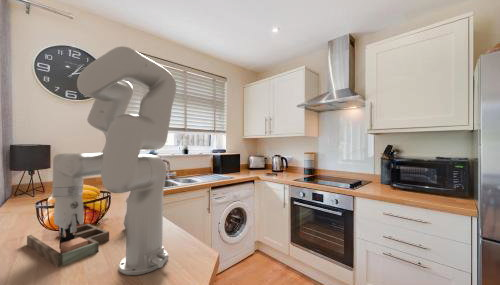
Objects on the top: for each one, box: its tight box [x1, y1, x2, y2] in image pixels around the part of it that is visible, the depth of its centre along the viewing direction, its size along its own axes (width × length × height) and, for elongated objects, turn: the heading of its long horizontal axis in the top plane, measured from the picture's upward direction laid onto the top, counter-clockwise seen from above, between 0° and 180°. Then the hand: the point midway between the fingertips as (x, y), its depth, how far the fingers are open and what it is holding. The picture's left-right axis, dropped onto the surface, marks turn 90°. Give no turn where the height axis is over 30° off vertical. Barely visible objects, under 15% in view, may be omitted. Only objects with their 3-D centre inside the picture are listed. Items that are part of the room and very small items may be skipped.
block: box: [59, 237, 88, 254], centre depth 64 cm, size 5×5×4 cm
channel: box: [26, 223, 110, 268], centre depth 71 cm, size 27×16×3 cm, turn 60°
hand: (66, 247), depth 66 cm, fingers closed
